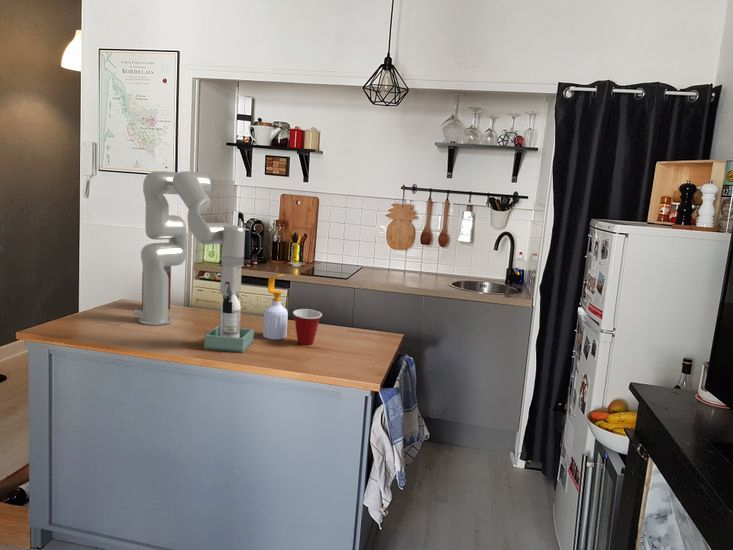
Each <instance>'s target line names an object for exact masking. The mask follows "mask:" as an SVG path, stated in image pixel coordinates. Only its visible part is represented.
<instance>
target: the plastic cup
mask: <svg viewBox="0 0 733 550" xmlns="http://www.w3.org/2000/svg"><path fill="white" fill-rule="evenodd" d="M292 314H293V317H294V321H295V323H294V324H295V330H296V339H297V344H298V345H300V346H311V345H313V344H314V342H315V338H316V336H317V335H316V334H317V331H318V325H319V322H320V319H321V317H322V316H323V313H322V312H320V311H319V310H318V311H317V310H314V309H308V308H300V309H294V311H293V312H292Z"/></svg>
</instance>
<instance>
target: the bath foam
mask: <svg viewBox="0 0 733 550" xmlns="http://www.w3.org/2000/svg"><path fill="white" fill-rule="evenodd" d="M228 293H231V292H228ZM228 296H229V298H230V295H228ZM238 298H239V297H237V296H236V293H235V294H233V295H232V301H231V302H232V313H231V314H230V313H223V300H222V302H221V304H220V315H219V316H220V317H219V326H220V336H224V337H235V338H239V335H240V328H241V311H242V310H241V309H242V306H241V302H240V299H239V300H238Z"/></svg>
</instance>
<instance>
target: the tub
mask: <svg viewBox="0 0 733 550" xmlns="http://www.w3.org/2000/svg"><path fill="white" fill-rule="evenodd" d="M254 334H255V329H252V328H246V327H245V328H244V327H240V335H239V338H235V337H224V336H220V325H217V326H216V327H214V328H213V329H212V330H210V331H209V332H207V333H206V334H205V335H204V348H203V349H204V350H207V351H218V352H219V351H220V352H228V353H239V354H240V353H241V354H244V352H246V350H247V349H248V348H250V346H251V345H252V344H253V343H254V336H255V335H254Z"/></svg>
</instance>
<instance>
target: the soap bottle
mask: <svg viewBox="0 0 733 550" xmlns="http://www.w3.org/2000/svg"><path fill="white" fill-rule="evenodd" d="M284 274H285V273H284ZM284 274H283V273H282V274H279V275H274V276H271V277H270V276H269V278H268V282H267V290H268V293H271V294H273V296H274V298H272V299H271V301H272V302H271V305H268V306H267V307H266V308H265V309H264V311H263V328H262V329H263V331H262V337H263V338H264V339H267V340H272V341H273V340H274V341H279V340H283V339H286V338H287V335H288V321H289V320H288V319H289V318H288V316H289V313H288V309H287V308H286V307H284V305H282V299H281V298H280V296H281V295H282V294H285V291H282V290H276V289H275V281H276V279H275V278H277V277H281V276H284Z"/></svg>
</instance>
